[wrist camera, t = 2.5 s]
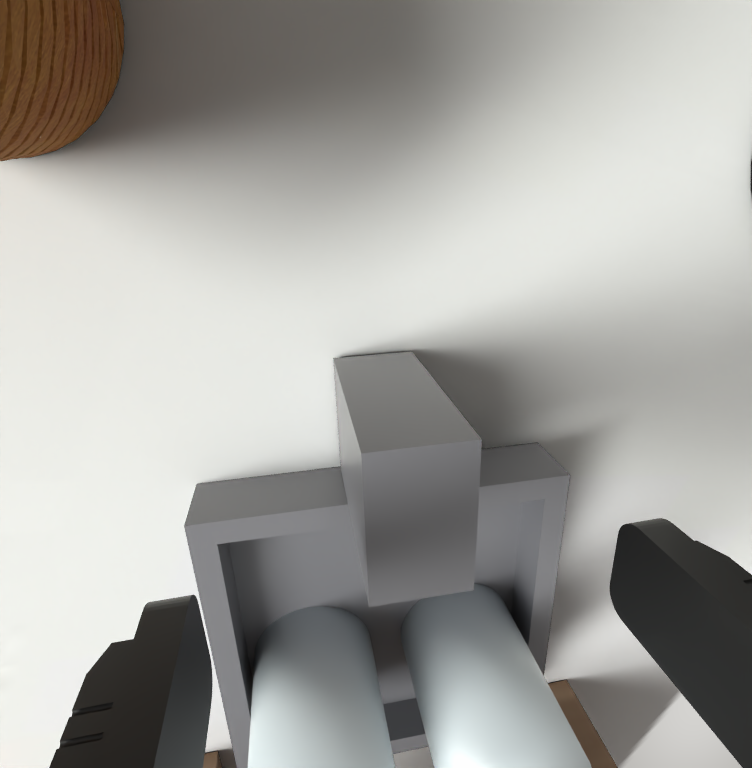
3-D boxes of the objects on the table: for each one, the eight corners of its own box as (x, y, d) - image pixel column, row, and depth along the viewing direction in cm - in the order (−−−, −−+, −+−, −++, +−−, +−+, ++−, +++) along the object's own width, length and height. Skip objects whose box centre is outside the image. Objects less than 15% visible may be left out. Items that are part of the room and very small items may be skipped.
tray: (175, 366, 15) (94, 499, 9) (544, 335, 17) (706, 424, 10) (245, 720, 21) (228, 955, 14) (511, 669, 23) (601, 858, 16)
